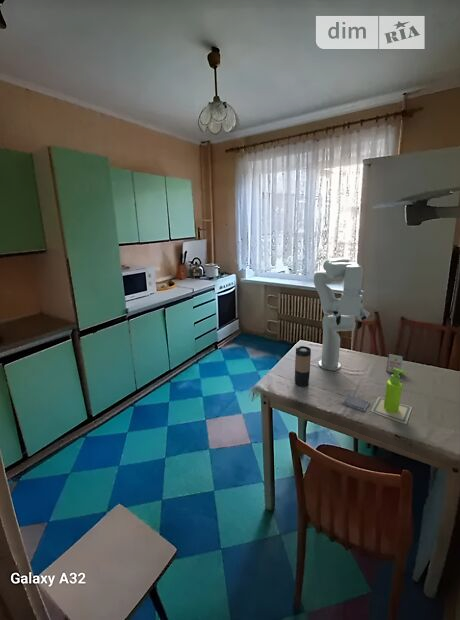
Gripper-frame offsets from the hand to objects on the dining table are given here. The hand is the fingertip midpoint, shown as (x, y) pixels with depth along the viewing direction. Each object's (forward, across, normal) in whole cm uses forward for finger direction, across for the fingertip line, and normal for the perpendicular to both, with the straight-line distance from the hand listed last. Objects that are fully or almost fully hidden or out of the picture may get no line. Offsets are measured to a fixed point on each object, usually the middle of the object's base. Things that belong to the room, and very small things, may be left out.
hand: (348, 326), depth 140 cm
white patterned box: (+34, -17, -32) cm, 49 cm away
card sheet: (+33, -24, +6) cm, 41 cm away
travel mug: (+34, +18, +10) cm, 39 cm away
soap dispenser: (+33, -24, +6) cm, 41 cm away
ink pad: (+33, -10, +11) cm, 36 cm away
